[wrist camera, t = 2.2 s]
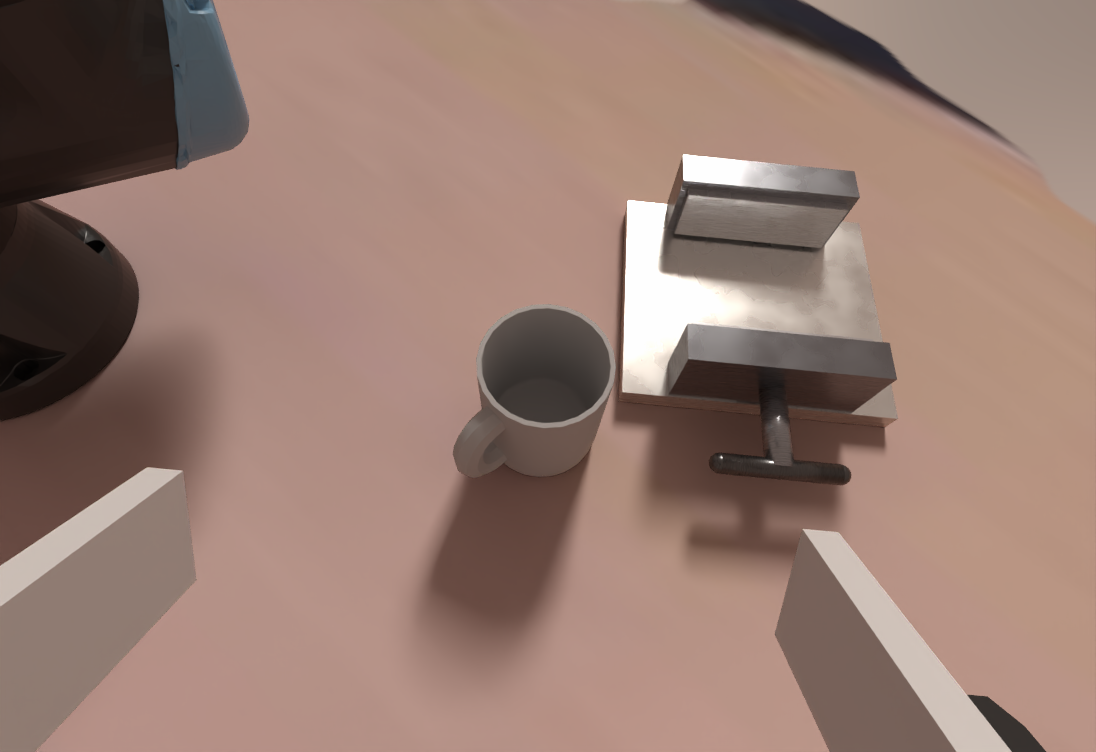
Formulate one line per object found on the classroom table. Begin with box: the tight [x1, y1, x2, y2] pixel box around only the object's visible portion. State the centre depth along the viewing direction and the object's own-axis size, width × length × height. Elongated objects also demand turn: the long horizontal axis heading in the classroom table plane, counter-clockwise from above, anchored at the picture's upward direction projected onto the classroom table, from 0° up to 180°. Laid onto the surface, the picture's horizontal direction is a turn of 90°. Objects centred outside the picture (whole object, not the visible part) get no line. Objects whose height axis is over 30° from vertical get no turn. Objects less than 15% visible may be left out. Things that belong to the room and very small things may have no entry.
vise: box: [619, 155, 898, 485], centre depth 38 cm, size 18×22×6 cm
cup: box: [453, 304, 616, 478], centre depth 33 cm, size 7×10×9 cm
